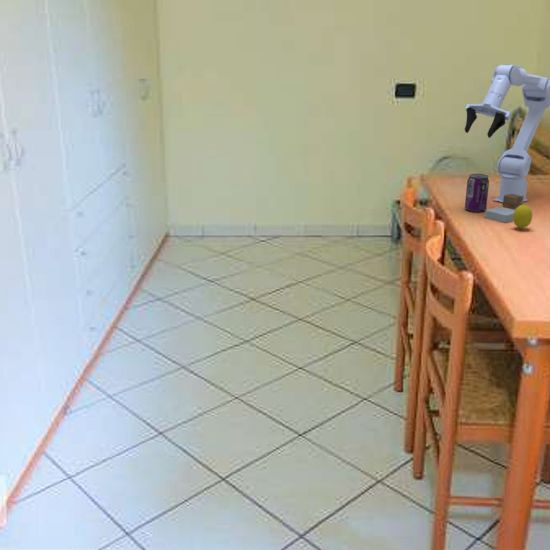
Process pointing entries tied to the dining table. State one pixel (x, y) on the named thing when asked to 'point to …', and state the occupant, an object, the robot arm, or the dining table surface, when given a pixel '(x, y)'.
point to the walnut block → (512, 201)
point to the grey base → (500, 214)
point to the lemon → (522, 216)
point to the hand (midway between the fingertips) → (477, 133)
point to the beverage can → (477, 192)
